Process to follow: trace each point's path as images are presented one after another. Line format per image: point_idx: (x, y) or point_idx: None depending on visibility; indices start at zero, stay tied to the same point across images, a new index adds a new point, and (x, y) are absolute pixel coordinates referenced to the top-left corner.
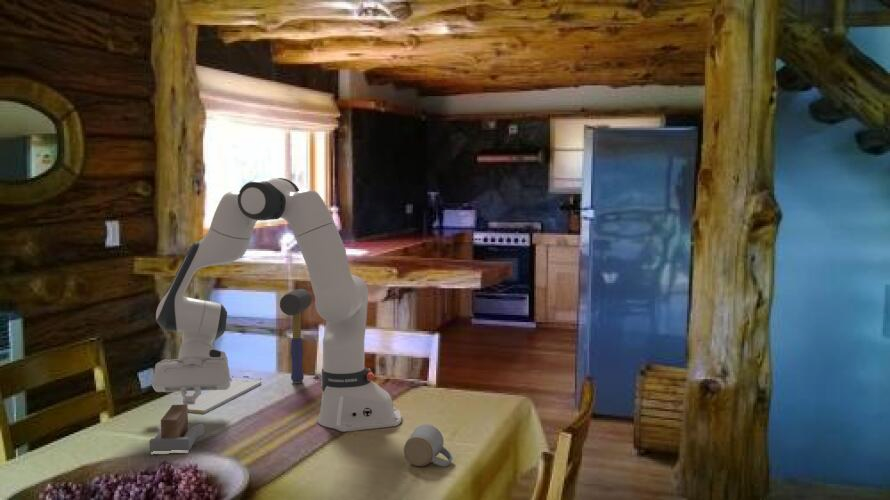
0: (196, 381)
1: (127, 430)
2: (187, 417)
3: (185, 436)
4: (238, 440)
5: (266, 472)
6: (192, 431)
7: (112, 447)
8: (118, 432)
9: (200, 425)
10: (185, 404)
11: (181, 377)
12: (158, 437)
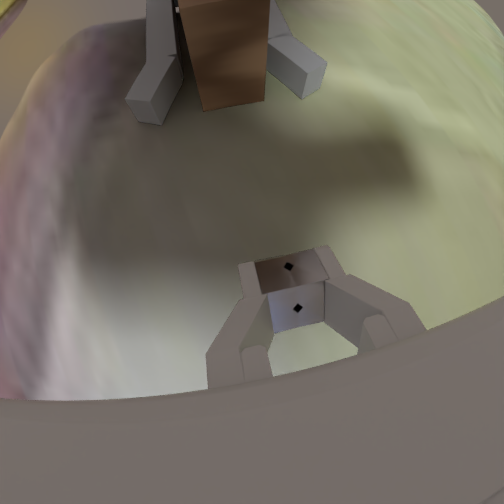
0: (257, 419)
1: (464, 159)
2: (190, 55)
3: (167, 5)
4: (30, 106)
5: (13, 13)
6: (154, 37)
7: (395, 29)
8: (474, 141)
9: (137, 90)
10: (190, 5)
11: (494, 405)
12: None
